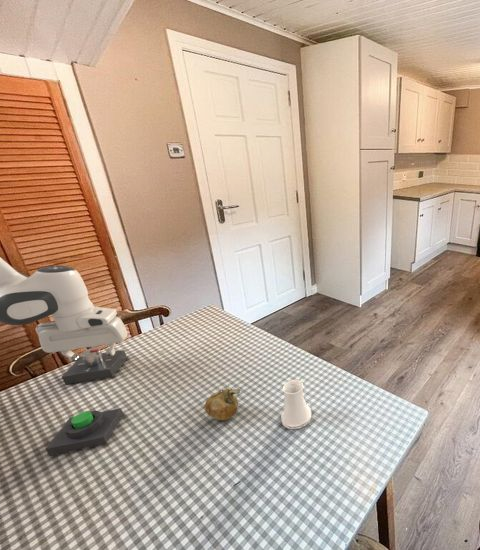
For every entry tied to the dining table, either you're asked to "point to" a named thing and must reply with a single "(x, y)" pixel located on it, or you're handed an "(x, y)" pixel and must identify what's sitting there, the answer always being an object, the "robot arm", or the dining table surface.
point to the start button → (82, 419)
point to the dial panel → (94, 369)
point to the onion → (222, 404)
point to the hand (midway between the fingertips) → (93, 357)
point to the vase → (295, 406)
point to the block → (86, 433)
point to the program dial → (92, 356)
